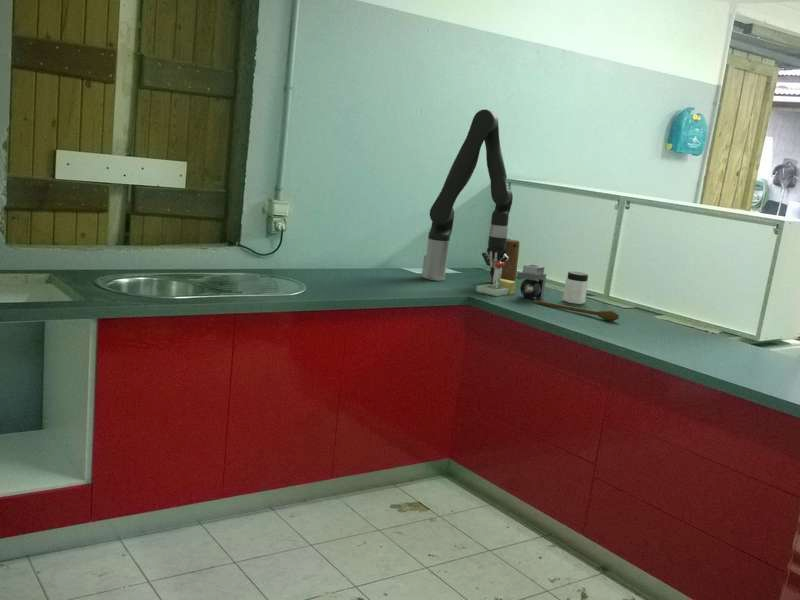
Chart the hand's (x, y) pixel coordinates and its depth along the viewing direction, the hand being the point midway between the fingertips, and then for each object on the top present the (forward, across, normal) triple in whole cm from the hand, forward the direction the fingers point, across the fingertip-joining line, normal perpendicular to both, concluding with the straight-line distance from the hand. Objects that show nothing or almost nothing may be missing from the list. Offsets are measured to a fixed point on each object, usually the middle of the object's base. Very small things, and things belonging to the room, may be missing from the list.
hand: (493, 276), depth 337 cm
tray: (+5, -5, +8) cm, 11 cm away
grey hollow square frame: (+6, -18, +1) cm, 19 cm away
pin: (+5, -5, +6) cm, 10 cm away
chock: (+6, -6, 0) cm, 9 cm away
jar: (+6, -32, -14) cm, 35 cm away
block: (+6, +4, -16) cm, 17 cm away
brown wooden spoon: (+7, -42, +8) cm, 43 cm away
